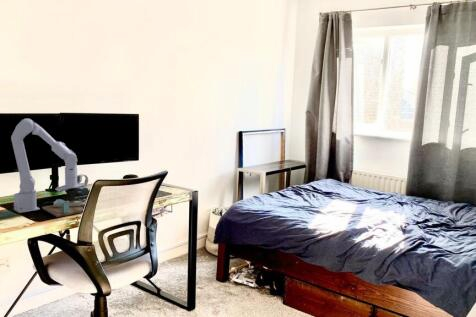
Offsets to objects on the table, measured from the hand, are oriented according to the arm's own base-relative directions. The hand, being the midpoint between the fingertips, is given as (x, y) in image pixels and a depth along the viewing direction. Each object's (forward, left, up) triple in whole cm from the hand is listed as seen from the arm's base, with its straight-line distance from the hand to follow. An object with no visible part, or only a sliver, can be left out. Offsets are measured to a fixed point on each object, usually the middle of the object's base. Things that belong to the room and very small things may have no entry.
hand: (71, 202), depth 211 cm
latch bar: (-1, -2, -1) cm, 3 cm away
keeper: (-8, -7, -1) cm, 11 cm away
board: (-2, -4, -2) cm, 5 cm away
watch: (+16, +21, -2) cm, 27 cm away
